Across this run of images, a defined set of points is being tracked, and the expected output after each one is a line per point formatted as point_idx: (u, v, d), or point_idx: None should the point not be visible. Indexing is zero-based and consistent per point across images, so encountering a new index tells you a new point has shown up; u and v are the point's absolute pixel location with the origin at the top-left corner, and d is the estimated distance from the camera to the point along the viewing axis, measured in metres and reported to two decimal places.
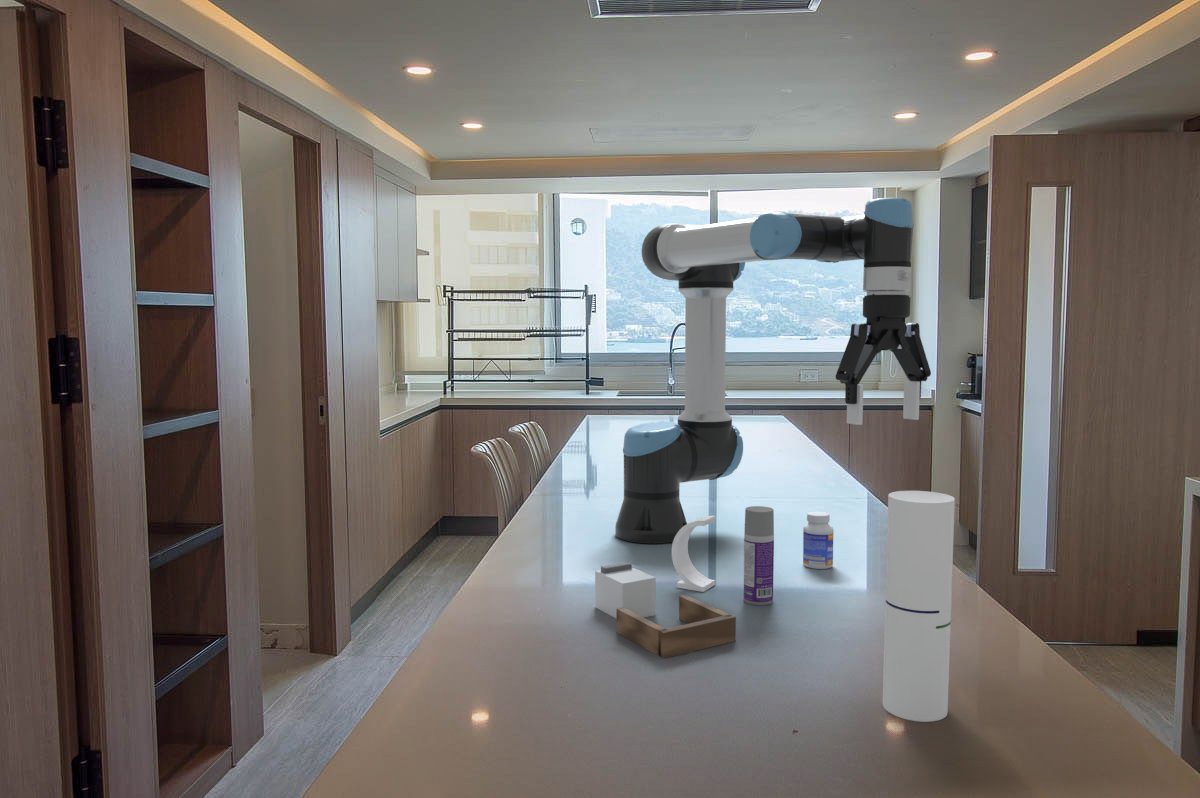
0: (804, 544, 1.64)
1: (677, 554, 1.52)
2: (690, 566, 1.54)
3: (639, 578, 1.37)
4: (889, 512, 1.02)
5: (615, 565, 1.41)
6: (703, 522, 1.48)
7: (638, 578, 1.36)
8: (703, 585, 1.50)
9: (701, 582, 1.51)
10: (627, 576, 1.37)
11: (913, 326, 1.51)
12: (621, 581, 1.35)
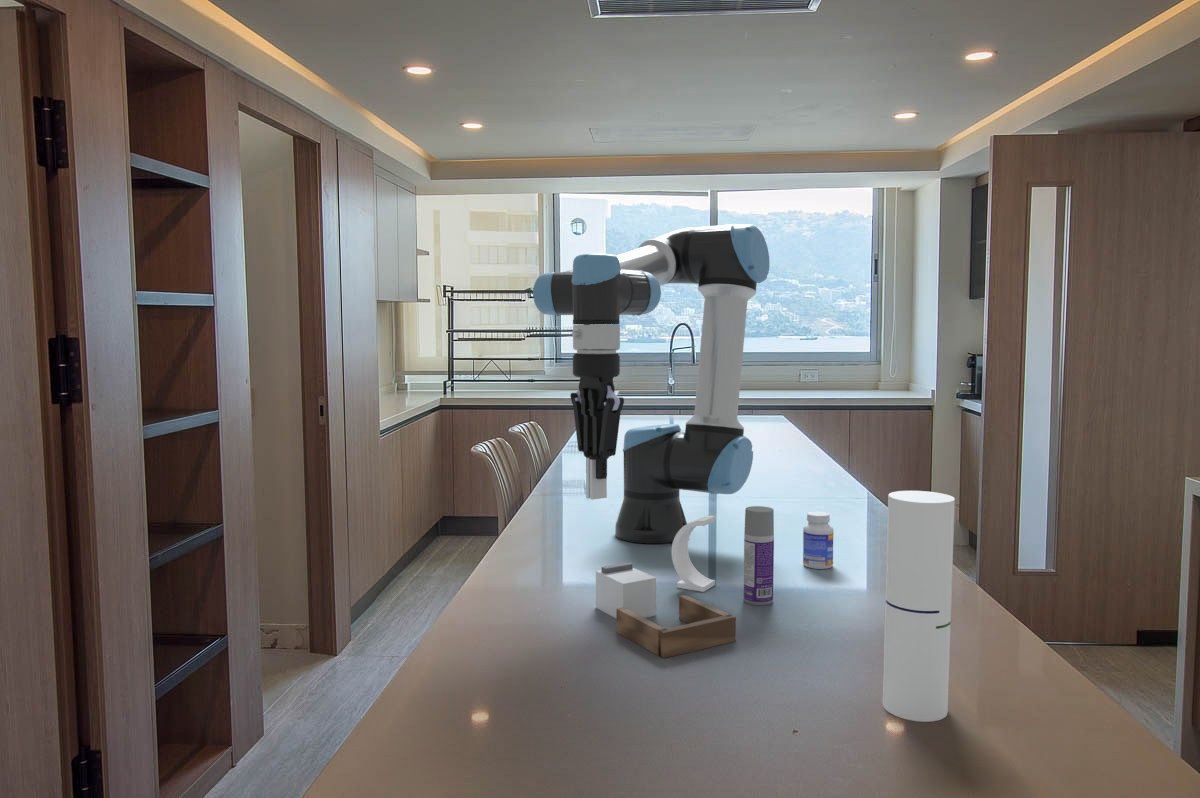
0: (804, 544, 1.64)
1: (677, 554, 1.52)
2: (690, 566, 1.54)
3: (640, 578, 1.36)
4: (889, 512, 1.02)
5: (616, 565, 1.41)
6: (703, 522, 1.48)
7: (639, 578, 1.36)
8: (703, 585, 1.50)
9: (701, 581, 1.51)
10: (627, 576, 1.37)
11: None
12: (621, 581, 1.35)
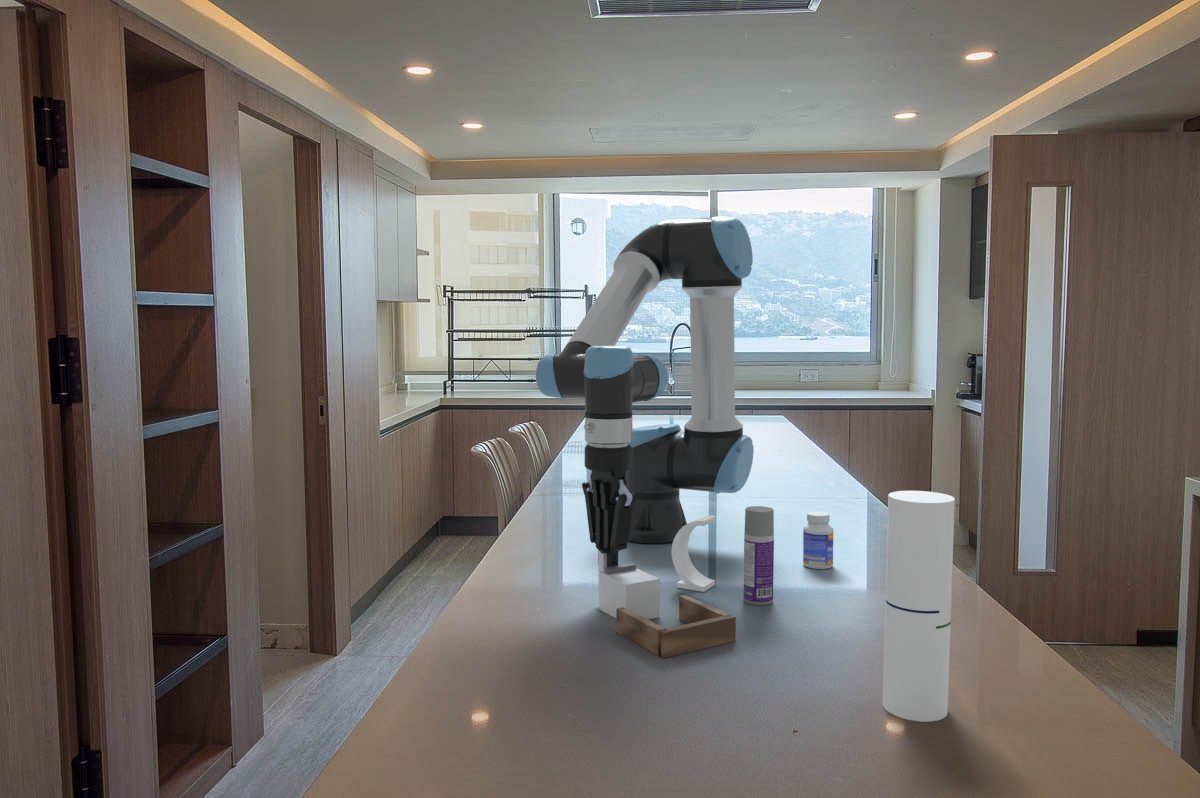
0: (804, 544, 1.64)
1: (677, 554, 1.52)
2: (690, 566, 1.54)
3: (643, 579, 1.35)
4: (889, 512, 1.02)
5: (619, 566, 1.40)
6: (703, 522, 1.48)
7: (642, 579, 1.35)
8: (703, 585, 1.50)
9: (701, 582, 1.51)
10: (630, 577, 1.36)
11: None
12: (625, 582, 1.34)
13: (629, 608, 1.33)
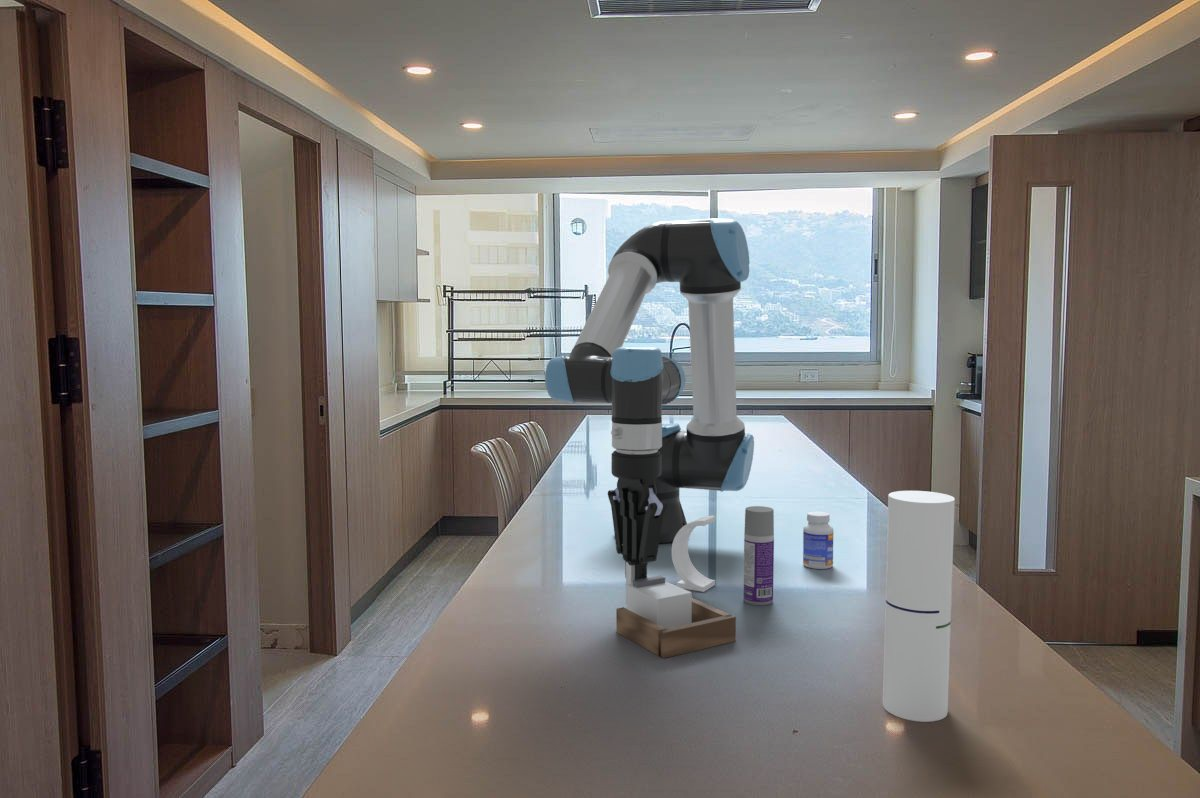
0: (804, 544, 1.64)
1: (677, 554, 1.52)
2: (690, 566, 1.54)
3: (675, 593, 1.29)
4: (889, 512, 1.02)
5: (648, 579, 1.33)
6: (703, 522, 1.48)
7: (673, 593, 1.28)
8: (703, 585, 1.50)
9: (701, 582, 1.51)
10: (661, 591, 1.29)
11: None
12: (655, 596, 1.27)
13: (660, 624, 1.27)
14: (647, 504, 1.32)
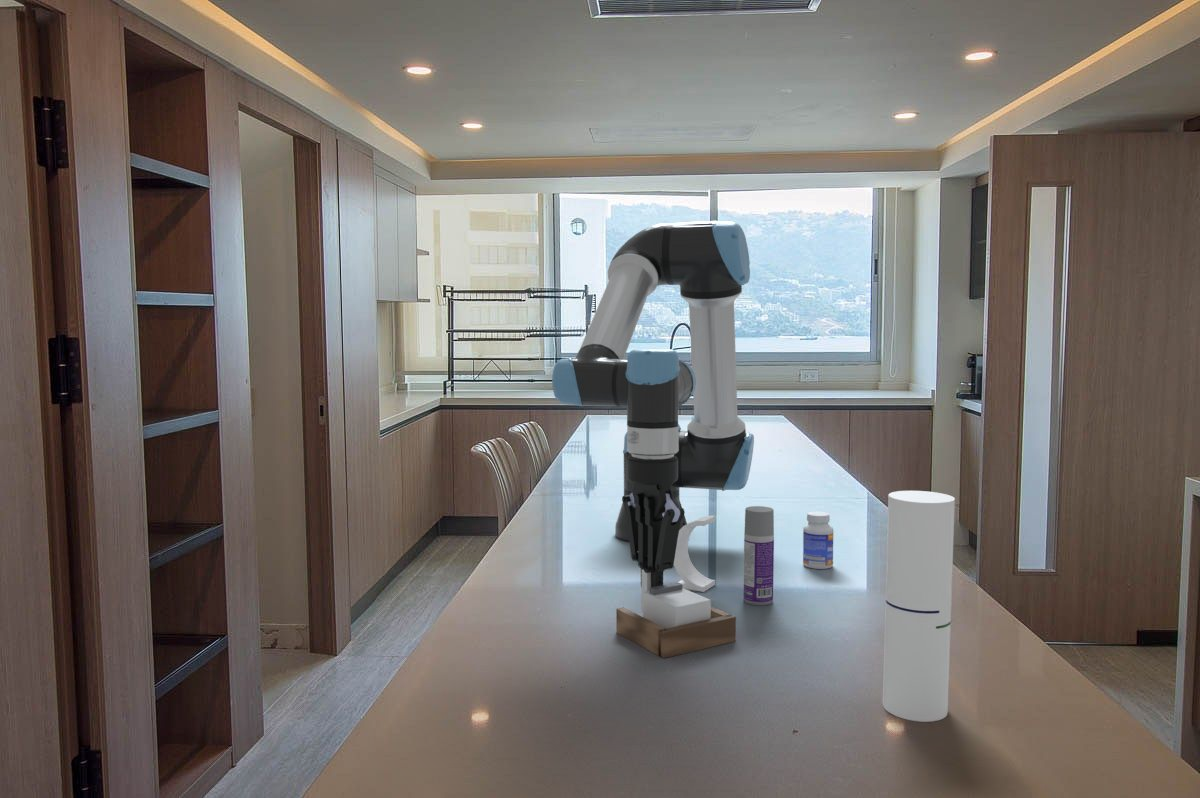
0: (804, 544, 1.64)
1: (677, 554, 1.52)
2: (690, 566, 1.54)
3: (693, 600, 1.25)
4: (889, 512, 1.02)
5: (665, 586, 1.29)
6: (703, 522, 1.48)
7: (692, 601, 1.25)
8: (703, 585, 1.50)
9: (701, 581, 1.51)
10: (679, 599, 1.26)
11: (667, 510, 1.26)
12: (674, 604, 1.24)
13: None
14: (664, 510, 1.29)
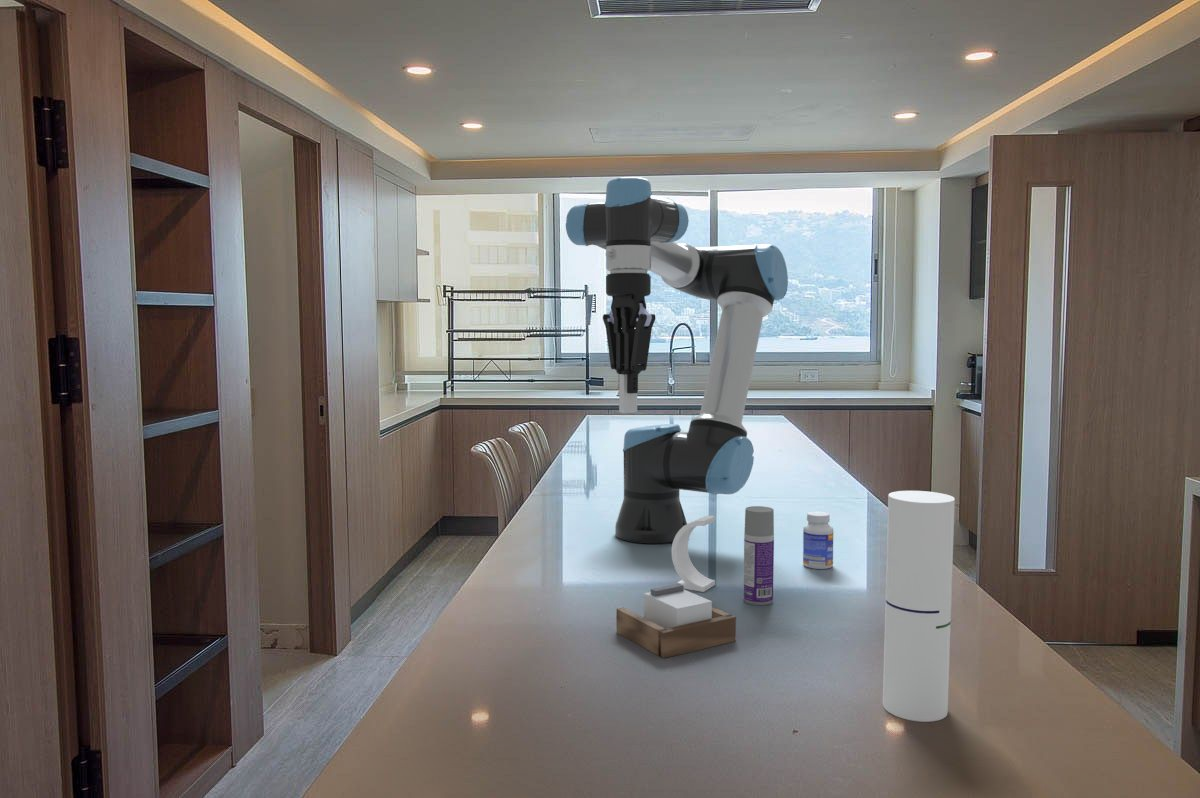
0: (804, 544, 1.64)
1: (677, 554, 1.52)
2: (690, 566, 1.54)
3: (694, 602, 1.25)
4: (889, 512, 1.03)
5: (666, 587, 1.29)
6: (703, 522, 1.48)
7: (693, 602, 1.25)
8: (703, 585, 1.50)
9: (701, 581, 1.51)
10: (680, 600, 1.26)
11: None
12: (675, 606, 1.23)
13: None
14: None
